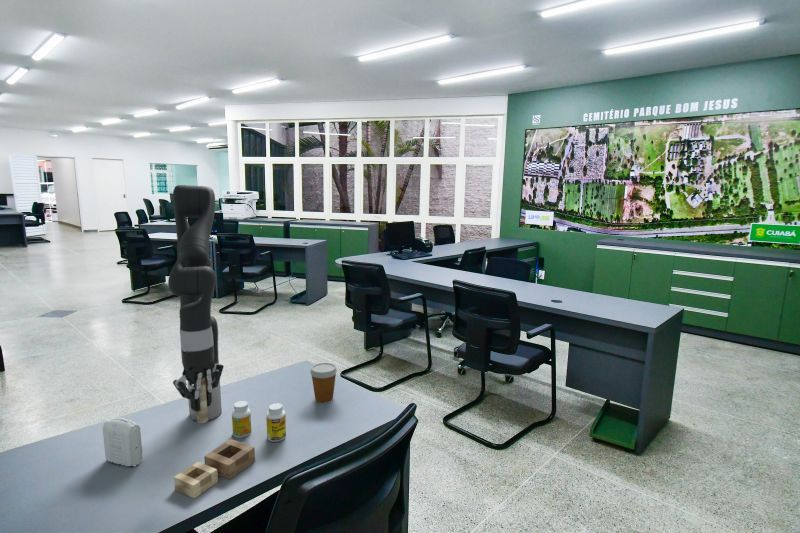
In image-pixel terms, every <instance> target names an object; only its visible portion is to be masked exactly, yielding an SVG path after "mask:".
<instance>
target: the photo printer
mask: <svg viewBox="0 0 800 533" xmlns="http://www.w3.org/2000/svg"><path fill="white" fill-rule="evenodd" d="M102 434H103V435H102V436H103V443H104V445H103V446H104V456H105V460H106V461H107V460H108V461H107V462H109V461H111V462H110V463H112V462H114V463H113V464H116V463H117V464H116V465H119V464H121V465H120V466H123V465H125V466H124V467H127V466H134V465H137V464H138V465H140V464H141V463H140V462H142V460H143V446H142V445H143V444H142V434H141V427H140V425H139V424H137V423H136V422H134V421H133V420H130V419H127V418H123V417H112V418H109V419H108V420H105V421H104V423H103V425H102ZM139 463H140V464H139ZM138 465H137V466H138ZM134 467H135V466H134Z"/></svg>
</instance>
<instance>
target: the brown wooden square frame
mask: <svg viewBox="0 0 800 533" xmlns="http://www.w3.org/2000/svg"><path fill="white" fill-rule="evenodd" d="M255 449H256V448H255V446H252V445H249V444H246V443H244V442H240V441H238V440H235V439H232V438H230V439H227V441H225V442H224V443H222V444H220V445H218V446H217V447H216V448H214V449H212V450H211V451H209V452H208V453H207V454H205V455H204V458H203V459H204V464H205V465H208V466H210V467H213V468H215V469H217V476H221V477H223V478H225V479H228V480H231V479H232V478H233V477H235V476H236V475H238V474H239V473H241V472H242V471H243V470H244V469H246V468H248V467H249V466H250V465H251V464H252V463H254V462H255V461H256V453H255V452H256V451H255Z"/></svg>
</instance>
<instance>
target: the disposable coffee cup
mask: <svg viewBox="0 0 800 533" xmlns="http://www.w3.org/2000/svg"><path fill="white" fill-rule="evenodd" d="M309 372H310V373H309V374H310V375H311V380H312V386H313V393H314V399H315V402H317V403H319V402H320V403H319V404H326V403H325V402H327V403H330V402H332V401H333V400H332V399H334V393H335V385H336V377H337V372H338V368H337V366H336V365H335V364H333V363H331V362H320V363H315V364H314V365H312V366H311V368H310V371H309ZM331 400H332V401H331ZM329 401H330V402H329Z"/></svg>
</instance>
